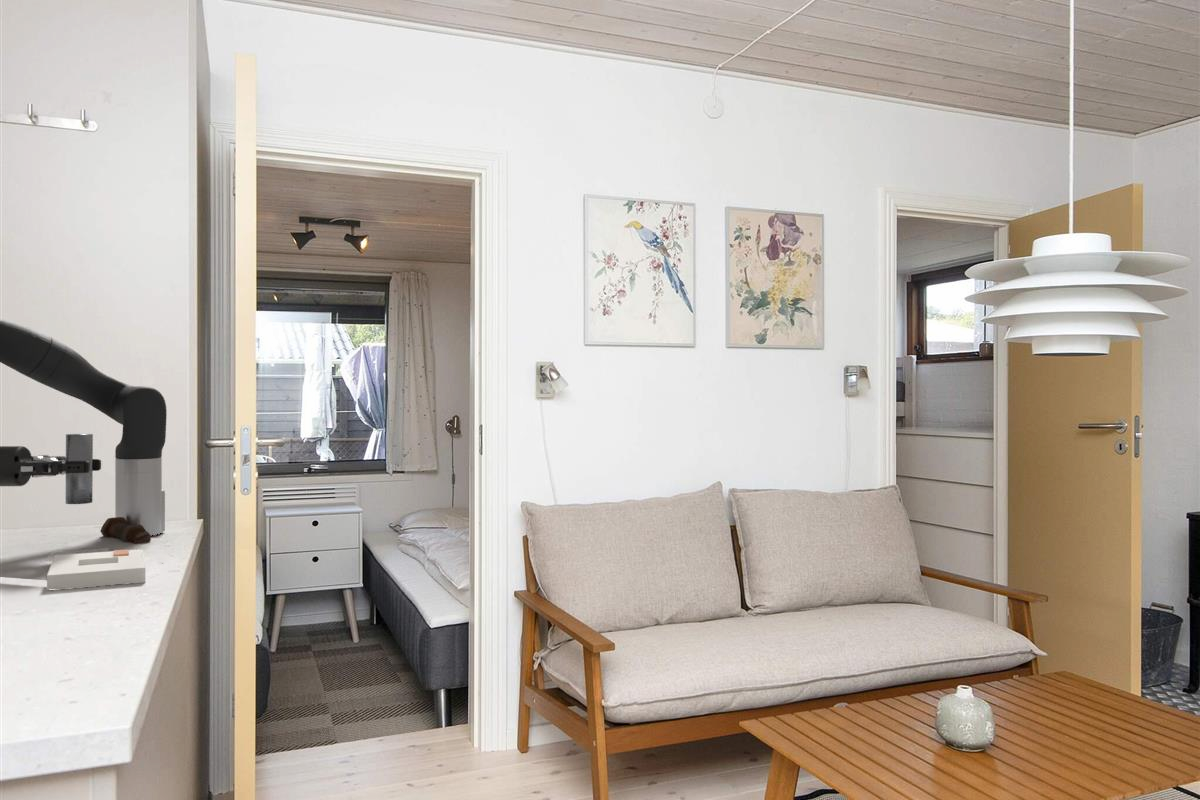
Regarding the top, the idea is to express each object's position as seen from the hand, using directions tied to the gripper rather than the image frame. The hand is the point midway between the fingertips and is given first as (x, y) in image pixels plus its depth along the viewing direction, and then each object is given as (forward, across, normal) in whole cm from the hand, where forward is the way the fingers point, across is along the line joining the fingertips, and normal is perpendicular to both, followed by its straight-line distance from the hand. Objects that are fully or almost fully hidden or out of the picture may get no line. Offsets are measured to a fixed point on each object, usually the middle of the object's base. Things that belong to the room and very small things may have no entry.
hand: (94, 465), depth 168 cm
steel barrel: (-3, 0, +7) cm, 8 cm away
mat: (-3, +1, +18) cm, 18 cm away
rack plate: (+7, -16, +18) cm, 25 cm away
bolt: (-1, +19, +18) cm, 26 cm away
